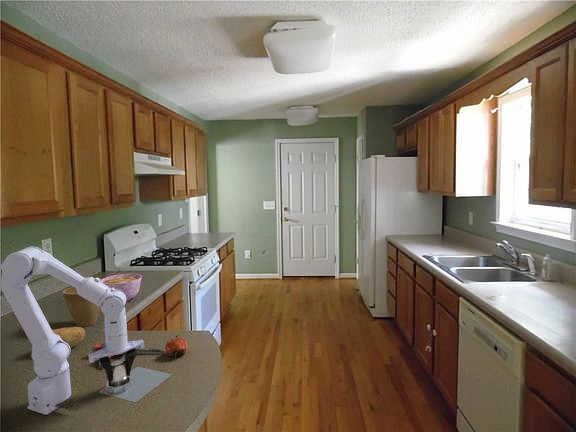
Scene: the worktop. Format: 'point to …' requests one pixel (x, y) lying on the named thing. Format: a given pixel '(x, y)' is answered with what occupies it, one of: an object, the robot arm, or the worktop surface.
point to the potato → (70, 335)
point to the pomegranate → (176, 347)
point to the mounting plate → (140, 383)
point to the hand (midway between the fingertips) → (118, 377)
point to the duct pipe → (118, 373)
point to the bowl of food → (124, 284)
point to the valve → (138, 350)
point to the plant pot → (80, 308)
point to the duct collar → (119, 387)
